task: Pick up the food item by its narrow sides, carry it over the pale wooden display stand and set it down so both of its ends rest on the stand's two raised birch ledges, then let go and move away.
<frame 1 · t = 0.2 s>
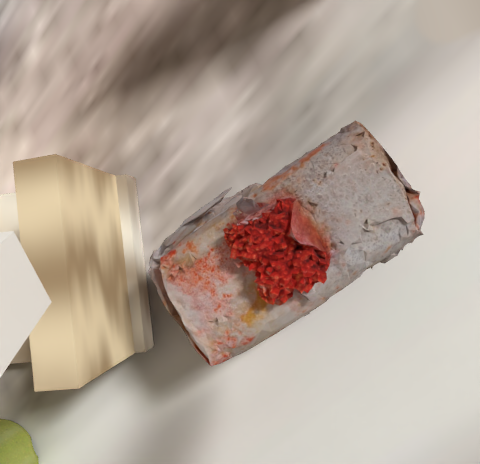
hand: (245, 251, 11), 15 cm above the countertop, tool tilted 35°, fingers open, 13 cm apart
plant pot: (5, 456, 29), on the countertop
food item: (285, 243, 26), on the countertop
display stand: (55, 272, 29), on the countertop
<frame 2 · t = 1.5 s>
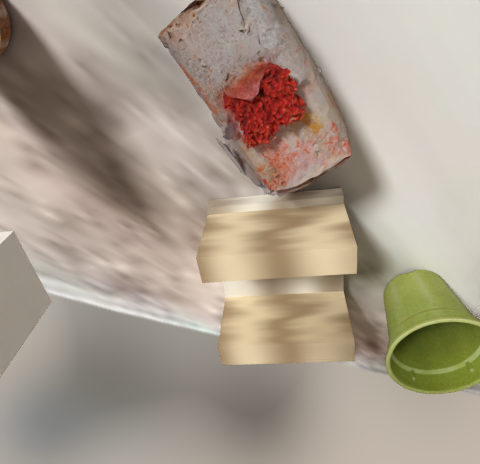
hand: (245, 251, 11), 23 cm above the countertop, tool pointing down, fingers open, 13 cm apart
plant pot: (412, 290, 40), on the countertop
food item: (262, 76, 30), on the countertop
display stand: (280, 256, 39), on the countertop
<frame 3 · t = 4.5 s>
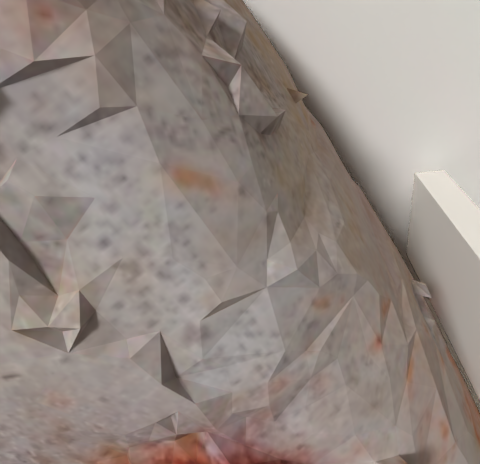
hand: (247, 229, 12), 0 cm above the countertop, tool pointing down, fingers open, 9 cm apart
food item: (238, 218, 12), on the countertop, touching gripper
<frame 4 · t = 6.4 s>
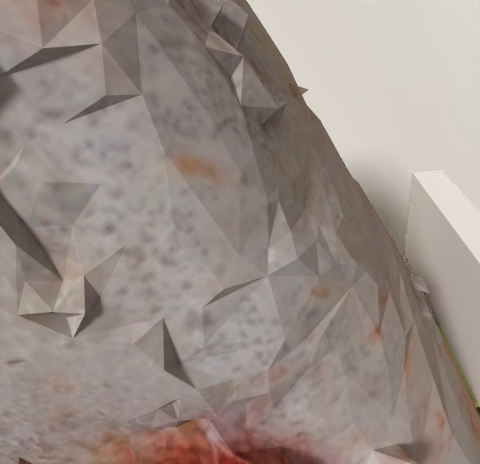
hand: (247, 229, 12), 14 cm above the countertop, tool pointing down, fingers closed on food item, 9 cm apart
food item: (237, 215, 12), point 13 cm above the countertop, touching gripper
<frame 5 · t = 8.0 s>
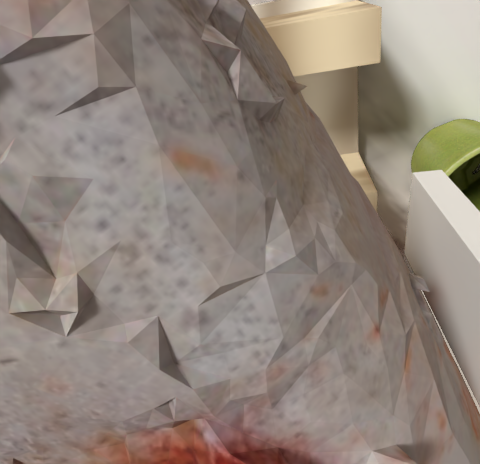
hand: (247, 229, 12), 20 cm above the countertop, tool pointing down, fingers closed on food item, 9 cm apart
plant pot: (449, 155, 31), on the countertop
food item: (236, 214, 12), point 19 cm above the countertop, touching gripper
display stand: (273, 108, 30), on the countertop
when the fingers open (10 cm above the countertop, at t = 10.9 s): food item drops 2 cm, resting on display stand.
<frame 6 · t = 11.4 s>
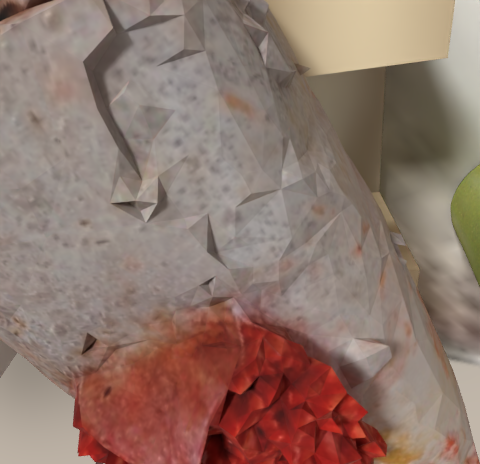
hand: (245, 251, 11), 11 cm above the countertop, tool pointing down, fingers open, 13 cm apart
food item: (241, 190, 14), point 8 cm above the countertop, touching display stand
display stand: (256, 125, 20), on the countertop
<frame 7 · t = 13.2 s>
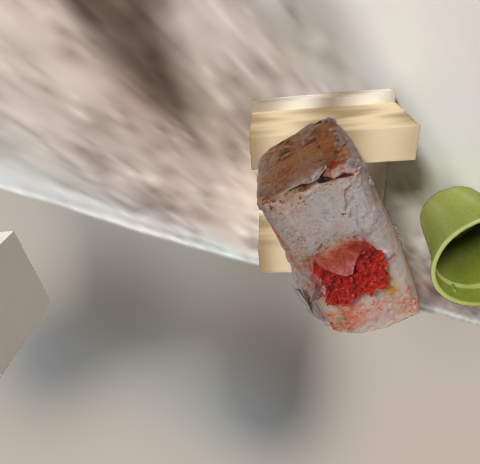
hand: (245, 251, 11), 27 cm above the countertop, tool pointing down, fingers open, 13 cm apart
plant pot: (449, 211, 40), on the countertop
food item: (326, 205, 31), point 8 cm above the countertop, touching display stand
display stand: (319, 168, 38), on the countertop
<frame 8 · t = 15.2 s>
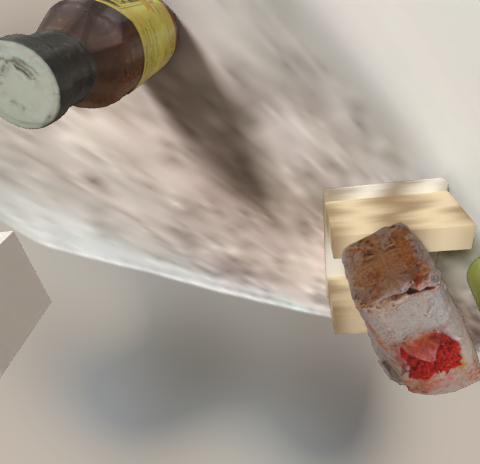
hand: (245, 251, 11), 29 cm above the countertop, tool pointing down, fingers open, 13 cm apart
sauce bottle: (144, 32, 34), on the countertop
food item: (394, 282, 38), point 8 cm above the countertop, touching display stand
display stand: (378, 239, 44), on the countertop
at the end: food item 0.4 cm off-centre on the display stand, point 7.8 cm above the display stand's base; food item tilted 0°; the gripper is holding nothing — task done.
